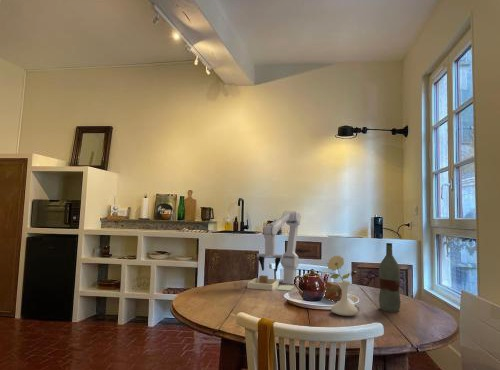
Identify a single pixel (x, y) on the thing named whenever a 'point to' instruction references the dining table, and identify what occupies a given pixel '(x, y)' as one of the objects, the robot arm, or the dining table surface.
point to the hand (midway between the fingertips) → (269, 270)
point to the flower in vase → (343, 305)
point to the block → (263, 279)
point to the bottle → (389, 282)
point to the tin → (333, 292)
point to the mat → (285, 288)
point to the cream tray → (256, 285)
